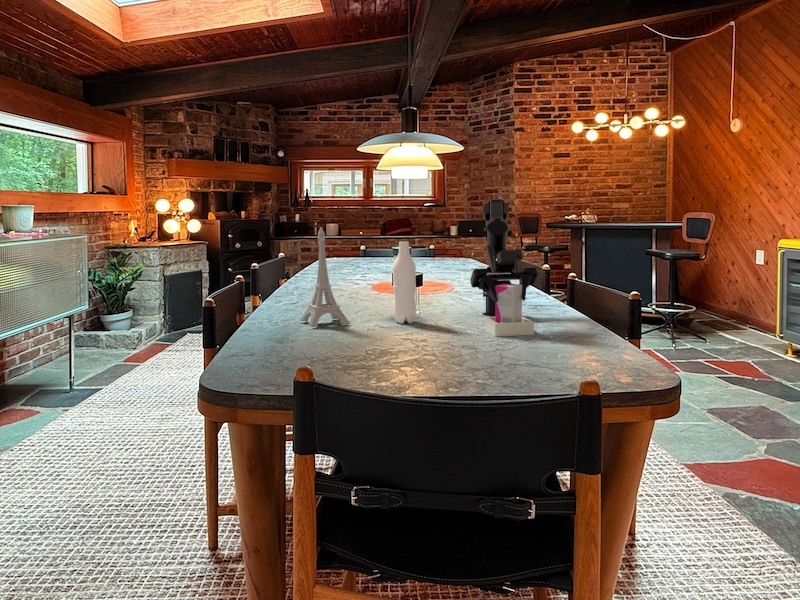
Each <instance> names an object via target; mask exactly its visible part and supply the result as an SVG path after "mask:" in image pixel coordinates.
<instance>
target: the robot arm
mask: <svg viewBox="0 0 800 600" xmlns="http://www.w3.org/2000/svg"><path fill="white" fill-rule="evenodd" d="M482 206H483V207H482V208H483V214H482V215H483V216H482V217H483V220H485V226H484V228H483V230H484V231H483V239H485V240H486V243H487V244H486V252H487V256H488V259H489V265H488V266H487V267H485V268H481V267H480V268H473V270H472V272H471V275H470V279H469V280H470V286H471V287H472V288H478V289H479V290H482V297H483V298H485V312H482V313H481V314H482V315H485V316H488V317H495V302H497V295H496V292H495V286H496V285H501V284H512V282H511V281H518V283H519V284H520V285H522V302H525V300H526V297H527V296H526V295H527V289H528V288H529V286H533V285H535V282H536V280H537V278H538V275H539V270H538V268H537V267H536V266H523V267H522V269H521V272H519V271H518V272H514V270H516V263H518V262H521V261H522V260H523V259H524V254H523V251H522V249H521V248H515V249H512V250H511V249H509V250H508V248H507V244H508V239H511V236H512V235H513V230H511V227H510V226H508V221H507V219H509V212H510V211H509V208H510V205H509V204H508V203H506V202H505V199H502V198H498V199H497V198H491V199H488V201H487V203H485V204H483V205H482Z"/></svg>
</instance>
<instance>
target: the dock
mask: <svg viewBox="0 0 800 600" xmlns="http://www.w3.org/2000/svg"><path fill="white" fill-rule="evenodd" d="M483 319H484V323H483V324H484V326H483V327H484V330H485V331H487V332H488V333H489V334H491V335H492V336H494V337H509V336H510V337H512V336H514V337H515V336H531V335H532V336H535V322H534V321H532V320H531V319H528V318H526V317H525V316H523V315H522V322H511V323H497V322H495V316H484V318H483Z"/></svg>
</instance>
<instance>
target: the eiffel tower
mask: <svg viewBox="0 0 800 600" xmlns="http://www.w3.org/2000/svg"><path fill="white" fill-rule="evenodd" d="M326 238H327V237H326V233H325V232H324V229H323V226H320V227H319V230H318V233H317V237H316V239H318V265H317V267H318V268H317V279H316V284H315V285H314V286H315V290H314V294H313V296H312V299H311V302H310V303H308V304H307V306H308V307H307V309H306V310H305V312H303V315H302V316H301V317H300V318H299V320H300V321H308V326H309V327H318V323H319V320H320V319H321V317H323V316H324V315H326V314H329V315H330V319H331V318H332V319H340V320H339V321H340V324H343V325H349V324H351V322H350V321H349V320H348V318H347V317H346V315H345V314H344V312H343V311H342V310H341V309H340V307H341V305H340V304H338V303H337V302H336V299H335V297H334V294H333V292H332V289H331V288H332V284H330V278H329V273H328V265H327V260H326V259H327V256H326V247H325V239H326ZM323 298H324V299H323ZM323 300H325V302H323ZM309 320H310V321H309Z"/></svg>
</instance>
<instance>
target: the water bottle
mask: <svg viewBox="0 0 800 600" xmlns="http://www.w3.org/2000/svg"><path fill="white" fill-rule="evenodd" d="M409 245H410V243H409V241H406V240H405V241H404V240H403V241H398V253H397V255H396V258H395V260H394V263H393V265H392V283H393V285H392V290H393V294H394V304H393V310H392V311H393V312H392V313H393V318H394V321H395V322H396V323H399V324H404V323H405V322H407V324H412V323H414V321H415V320H416V317H417V306H416V300H415V299H416V297H415V296H416V288H417V285H416V283H417V280H416V278H417V275H416V270H417V267H416V264H415V262H414V259H413V258H412V255H411V254H410V250H411V249H410V246H409Z"/></svg>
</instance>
